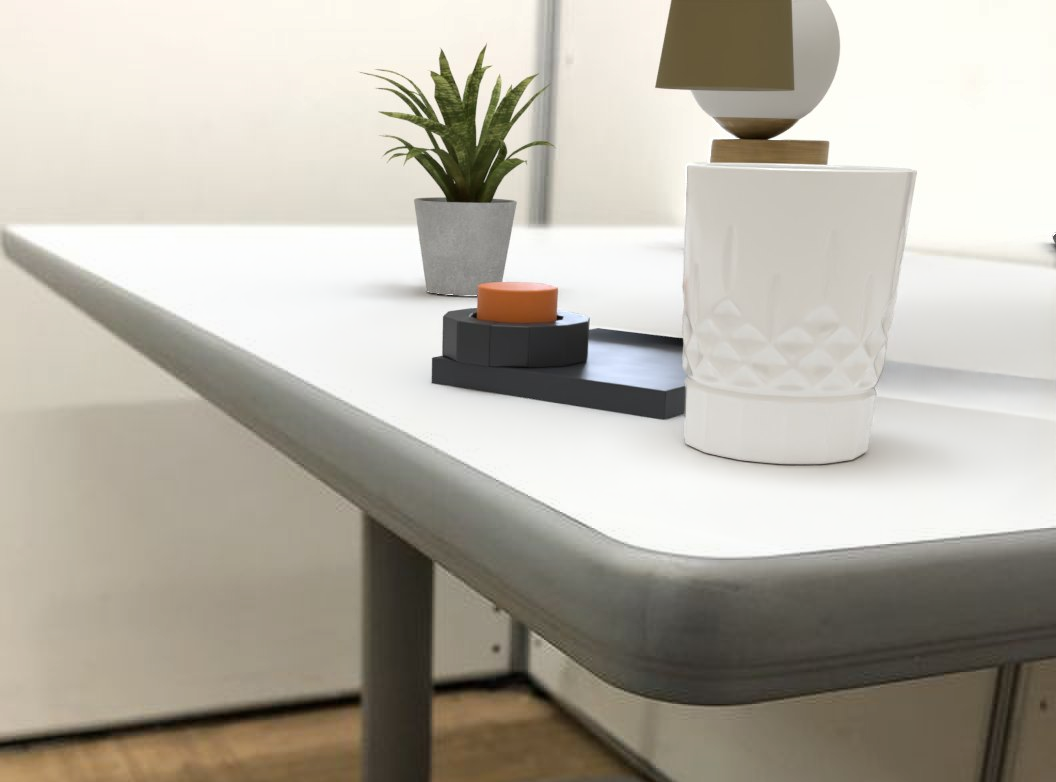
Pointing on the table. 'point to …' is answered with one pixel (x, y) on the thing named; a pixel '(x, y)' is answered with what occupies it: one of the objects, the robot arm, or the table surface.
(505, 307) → the button
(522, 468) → the table surface
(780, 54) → the cork
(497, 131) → the house plant
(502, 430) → the table surface
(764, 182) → the white cup
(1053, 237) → the robot arm
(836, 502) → the table surface
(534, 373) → the scale
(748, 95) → the lamp
